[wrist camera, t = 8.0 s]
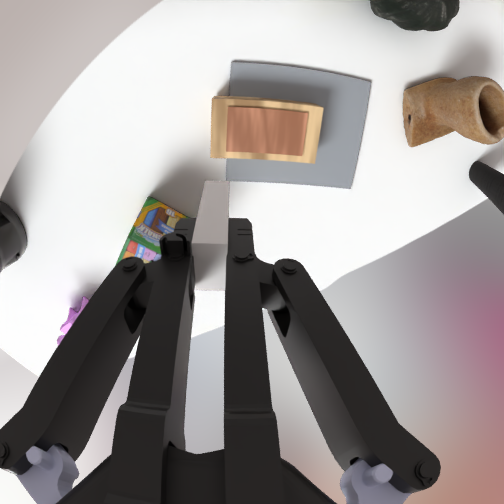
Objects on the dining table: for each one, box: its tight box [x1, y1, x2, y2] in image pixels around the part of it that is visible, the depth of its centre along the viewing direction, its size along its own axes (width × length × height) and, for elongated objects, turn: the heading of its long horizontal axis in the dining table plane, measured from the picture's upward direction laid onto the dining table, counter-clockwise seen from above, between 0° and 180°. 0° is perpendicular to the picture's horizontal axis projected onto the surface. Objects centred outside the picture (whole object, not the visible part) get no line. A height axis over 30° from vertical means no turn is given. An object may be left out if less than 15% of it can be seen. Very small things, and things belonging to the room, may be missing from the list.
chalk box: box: [115, 197, 188, 266], centre depth 41 cm, size 9×9×15 cm
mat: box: [226, 62, 371, 189], centre depth 37 cm, size 20×18×1 cm
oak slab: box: [211, 96, 323, 164], centre depth 35 cm, size 4×8×14 cm
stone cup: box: [403, 76, 504, 147], centre depth 28 cm, size 15×12×15 cm
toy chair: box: [57, 297, 89, 345], centre depth 53 cm, size 8×9×15 cm
